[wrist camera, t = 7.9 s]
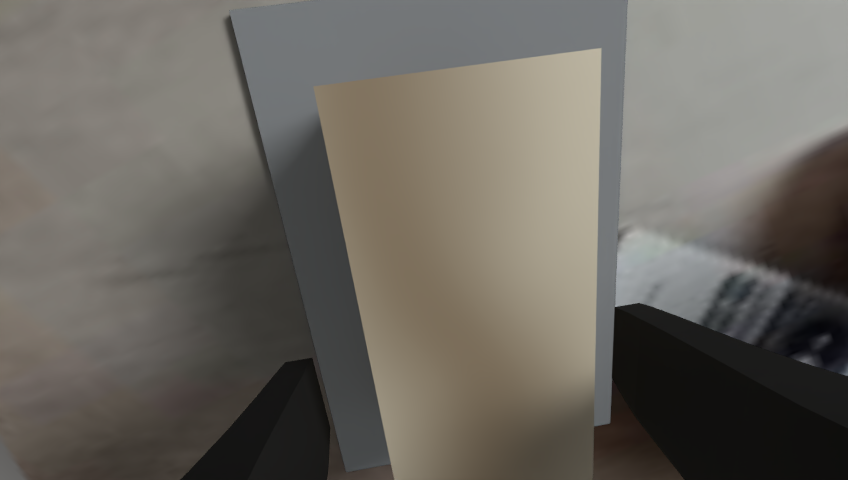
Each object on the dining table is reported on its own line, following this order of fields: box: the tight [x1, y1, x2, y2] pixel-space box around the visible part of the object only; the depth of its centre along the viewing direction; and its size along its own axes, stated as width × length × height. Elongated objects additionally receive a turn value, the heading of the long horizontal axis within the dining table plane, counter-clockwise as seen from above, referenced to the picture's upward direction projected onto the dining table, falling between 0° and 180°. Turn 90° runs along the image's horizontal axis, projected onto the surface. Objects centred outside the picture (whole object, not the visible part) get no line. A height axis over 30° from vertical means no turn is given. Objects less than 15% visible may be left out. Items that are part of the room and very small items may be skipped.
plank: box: [313, 48, 601, 480], centre depth 10 cm, size 4×13×4 cm, turn 7°
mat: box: [229, 0, 628, 472], centre depth 16 cm, size 12×18×1 cm, turn 7°
